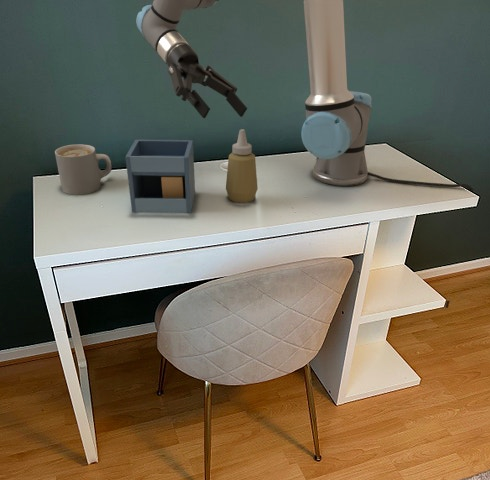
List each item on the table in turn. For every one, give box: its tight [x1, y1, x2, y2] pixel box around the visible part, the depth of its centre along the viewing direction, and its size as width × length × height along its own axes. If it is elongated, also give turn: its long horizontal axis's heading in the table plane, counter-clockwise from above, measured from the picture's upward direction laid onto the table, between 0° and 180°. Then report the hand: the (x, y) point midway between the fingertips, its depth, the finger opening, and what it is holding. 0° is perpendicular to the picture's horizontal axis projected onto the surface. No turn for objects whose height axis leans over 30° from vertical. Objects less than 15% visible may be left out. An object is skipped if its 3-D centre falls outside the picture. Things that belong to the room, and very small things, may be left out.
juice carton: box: [161, 176, 186, 198], centre depth 122 cm, size 5×5×8 cm
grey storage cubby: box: [125, 139, 196, 214], centre depth 121 cm, size 14×12×14 cm
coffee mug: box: [54, 143, 112, 196], centre depth 131 cm, size 13×10×10 cm
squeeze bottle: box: [225, 129, 258, 204], centre depth 123 cm, size 8×8×18 cm
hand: (226, 113), depth 124 cm, fingers open, 13 cm apart
